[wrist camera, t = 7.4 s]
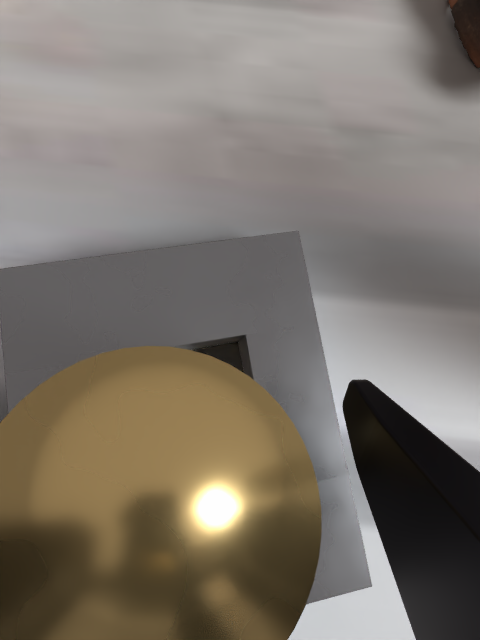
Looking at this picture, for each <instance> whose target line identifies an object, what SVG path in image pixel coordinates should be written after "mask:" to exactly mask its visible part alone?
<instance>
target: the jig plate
mask: <svg viewBox="0 0 480 640" xmlns="http://www.w3.org/2000/svg"><path fill="white" fill-rule="evenodd" d="M0 320H1V332H2V344H3V357H4V369H5V381H6V393H7V405H8V414H9V413H10V412H11V410H12V409H13V408H14V407H15V406H16V405H17V404H18V403H19V402H20V401H21V400H22V399H23V398H25V397H26V396H27V395H28V394H29V393H30V392H32V391H33V390H34V389H35V388H36V387H37V386H39V385H40V384H42V383H43V382H45V381H46V380H48V379H49V378H51V377H52V376H53V375H55V374H56V373H58V372H60V371H62V370H64V369H66V368H68V367H70V366H72V365H73V364H75V363H77V362H79V361H82V360H85V359H87V358H90V357H93V356H96V355H98V354H101V353H105V352H110V351H114V350H118V349H123V348H130V347H140V346H169V347H175V348H181V349H188V350H192V349H198V348H204V347H210V346H216V345H222V344H228V343H234V342H238V344H239V349H240V355H241V361H242V366H243V372H244V373H245V374H246V375H248V376H249V377H251V378H252V379H253V380H254V381H256V382H257V383H258V384H259V385H260V386H262V387H263V388H264V389H265V390H266V391H267V392H268V393H269V394H270V395H271V396H272V397H273V398H274V399H275V400H276V401H277V402H278V403H279V404H280V406H281V407H282V408H283V410H284V411H285V412H286V414H287V415H288V417H289V418H290V419H291V421H292V422H293V424H294V425H295V427H296V429H297V431H298V433H299V434H300V436H301V438H302V440H303V442H304V444H305V446H306V449H307V452H308V454H309V457H310V459H311V462H312V464H313V468H314V472H315V476H316V480H317V484H318V489H319V496H320V504H321V527H322V534H321V544H320V554H319V560H318V565H317V569H316V574H315V578H314V583H313V585H312V588H311V591H310V594H309V597H308V600H307V603H306V604H309V603H312V602H316V601H320V600H323V599H327V598H331V597H335V596H338V595H342V594H346V593H349V592H353V591H357V590H360V589H364V588H368V587H372V583H371V579H370V574H369V569H368V564H367V559H366V554H365V550H364V545H363V540H362V535H361V530H360V526H359V521H358V516H357V511H356V506H355V501H354V497H353V492H352V487H351V482H350V477H349V472H348V468H347V463H346V458H345V453H344V448H343V444H342V439H341V434H340V429H339V424H338V419H337V415H336V410H335V405H334V400H333V395H332V390H331V386H330V381H329V376H328V371H327V366H326V362H325V357H324V352H323V347H322V342H321V337H320V333H319V328H318V323H317V318H316V313H315V308H314V304H313V299H312V294H311V289H310V284H309V279H308V275H307V270H306V265H305V260H304V255H303V251H302V246H301V241H300V236H299V231H292V232H285V233H277V234H269V235H261V236H253V237H246V238H238V239H230V240H222V241H214V242H207V243H199V244H191V245H183V246H175V247H168V248H160V249H152V250H144V251H136V252H128V253H121V254H113V255H105V256H97V257H89V258H82V259H74V260H66V261H58V262H50V263H43V264H35V265H27V266H19V267H11V268H4V269H0Z"/></svg>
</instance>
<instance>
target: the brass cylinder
mask: <svg viewBox="0 0 480 640" xmlns="http://www.w3.org/2000/svg"><path fill="white" fill-rule="evenodd" d="M321 534H322V527H321V504H320V496H319V489H318V484H317V480H316V476H315V472H314V468H313V464H312V462H311V459H310V457H309V454H308V452H307V449H306V446H305V444H304V442H303V440H302V438H301V436H300V434H299V433H298V431H297V429H296V427H295V425H294V424H293V422H292V421H291V419H290V418H289V417H288V415H287V414H286V412H285V411H284V410H283V408H282V407H281V406H280V404H279V403H278V402H277V401H276V400H275V399H274V398H273V397H272V396H271V395H270V394H269V393H268V392H267V391H266V390H265V389H264V388H263V387H262V386H260V385H259V384H258V383H257V382H256V381H254V380H253V379H252V378H251V377H249V376H248V375H246V374H245V373H243V372H241V371H240V370H238V369H237V368H235V367H233V366H232V365H230V364H228V363H225V362H223V361H221V360H219V359H216V358H214V357H212V356H209V355H206V354H202V353H199V352H196V351H192V350H188V349H181V348H175V347H169V346H140V347H130V348H123V349H118V350H114V351H110V352H105V353H101V354H98V355H96V356H93V357H90V358H87V359H85V360H82V361H79V362H77V363H75V364H73V365H72V366H70V367H68V368H66V369H64V370H62V371H60V372H58V373H56V374H55V375H53V376H52V377H51V378H49V379H48V380H46V381H45V382H43V383H42V384H40V385H39V386H37V387H36V388H35V389H34V390H33V391H32V392H30V393H29V394H28V395H27V396H26V397H25V398H23V399H22V400H21V401H20V402H19V403H18V404H17V405H16V406H15V407H14V408H13V409H12V410H11V412H10V413H9V414H8V415H7V416H6V417H5V418H4V419H3V420H2V421H1V423H0V640H287V639H288V638H289V636H290V635H291V633H292V632H293V630H294V628H295V626H296V624H297V622H298V620H299V618H300V616H301V614H302V612H303V610H304V608H305V606H306V603H307V600H308V597H309V594H310V591H311V588H312V585H313V583H314V578H315V574H316V569H317V565H318V560H319V554H320V544H321Z"/></svg>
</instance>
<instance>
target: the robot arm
mask: <svg viewBox="0 0 480 640" xmlns="http://www.w3.org/2000/svg"><path fill="white" fill-rule="evenodd" d="M343 413H344V417H345V421H346V426H347V430H348V434H349V439H350V443H351V448H352V452H353V456H354V460H355V464H356V468H357V471H358V474H359V477H360V480H361V483H362V486H363V489H364V492H365V494H366V497H367V500H368V503H369V506H370V509H371V512H372V515H373V517H374V520H375V523H376V526H377V529H378V532H379V535H380V538H381V540H382V543H383V546H384V549H385V552H386V555H387V558H388V561H389V563H390V566H391V569H392V572H393V575H394V578H395V581H396V584H397V586H398V589H399V592H400V595H401V598H402V601H403V604H404V607H405V609H406V612H407V615H408V618H409V621H410V624H411V627H412V630H413V632H414V635H415V638H416V640H480V472H479V471H478V470H477V469H475V468H474V467H473V466H472V465H471V464H469V463H468V462H467V461H466V460H465V459H463V458H462V457H461V456H460V455H459V454H457V453H456V452H455V451H454V450H452V449H451V448H450V447H449V446H448V445H446V444H445V443H444V442H443V441H442V440H440V439H439V438H438V437H437V436H435V435H434V434H433V433H432V432H431V431H429V430H428V429H427V428H426V427H425V426H423V425H422V424H421V423H420V422H418V421H417V420H416V419H415V418H414V417H412V416H411V415H410V414H409V413H408V412H406V411H405V410H404V409H403V408H401V407H400V406H399V405H398V404H397V403H395V402H394V401H393V400H392V399H391V398H389V397H388V396H387V395H386V394H384V393H383V392H382V391H381V390H380V389H378V388H377V387H376V386H375V385H374V384H372V383H371V382H370V381H368V380H352V381H351V382H350V383H349V385H348V388H347V391H346V394H345V397H344V400H343Z"/></svg>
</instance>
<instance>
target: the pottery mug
mask: <svg viewBox="0 0 480 640" xmlns="http://www.w3.org/2000/svg"><path fill="white" fill-rule="evenodd" d="M449 4H450V8H451V12H452V15H453V18H454V21H455V28H456V30H457V31H458V34H459V38H460V40H461V41H462V44H463V46H464V48H465V49H466V51H467V53H468V55H469V57H470V58H471V60H472V61H473V63H474V64H475V66H476V67H477V68H480V0H449Z"/></svg>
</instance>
